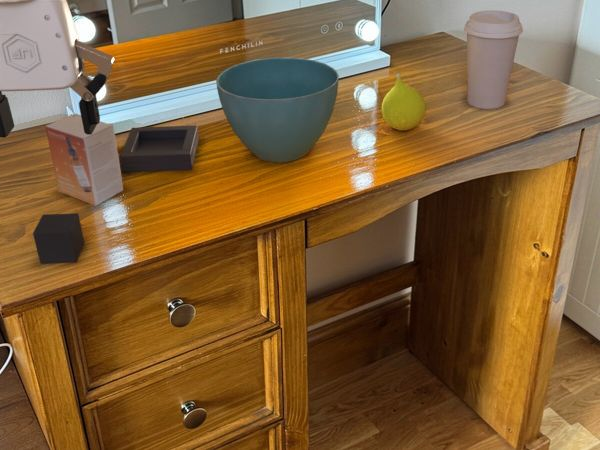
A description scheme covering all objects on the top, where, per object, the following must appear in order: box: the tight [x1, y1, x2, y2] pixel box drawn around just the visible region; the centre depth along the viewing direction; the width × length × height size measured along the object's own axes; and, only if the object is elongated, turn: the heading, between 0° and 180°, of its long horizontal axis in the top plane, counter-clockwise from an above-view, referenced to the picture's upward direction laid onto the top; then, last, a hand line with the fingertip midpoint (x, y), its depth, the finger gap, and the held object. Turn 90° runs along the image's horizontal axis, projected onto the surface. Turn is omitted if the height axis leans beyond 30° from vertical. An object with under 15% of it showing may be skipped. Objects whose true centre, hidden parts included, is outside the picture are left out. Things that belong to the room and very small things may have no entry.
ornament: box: [380, 65, 427, 131], centre depth 124 cm, size 7×7×10 cm
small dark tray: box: [119, 124, 200, 173], centre depth 119 cm, size 11×11×3 cm
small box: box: [44, 112, 124, 207], centre depth 108 cm, size 8×6×10 cm
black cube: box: [32, 212, 85, 265], centre depth 96 cm, size 4×4×4 cm
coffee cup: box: [463, 10, 524, 110], centre depth 131 cm, size 10×10×15 cm
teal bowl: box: [215, 57, 340, 163], centre depth 117 cm, size 18×18×12 cm
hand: (49, 131), depth 88 cm, fingers open, 9 cm apart
